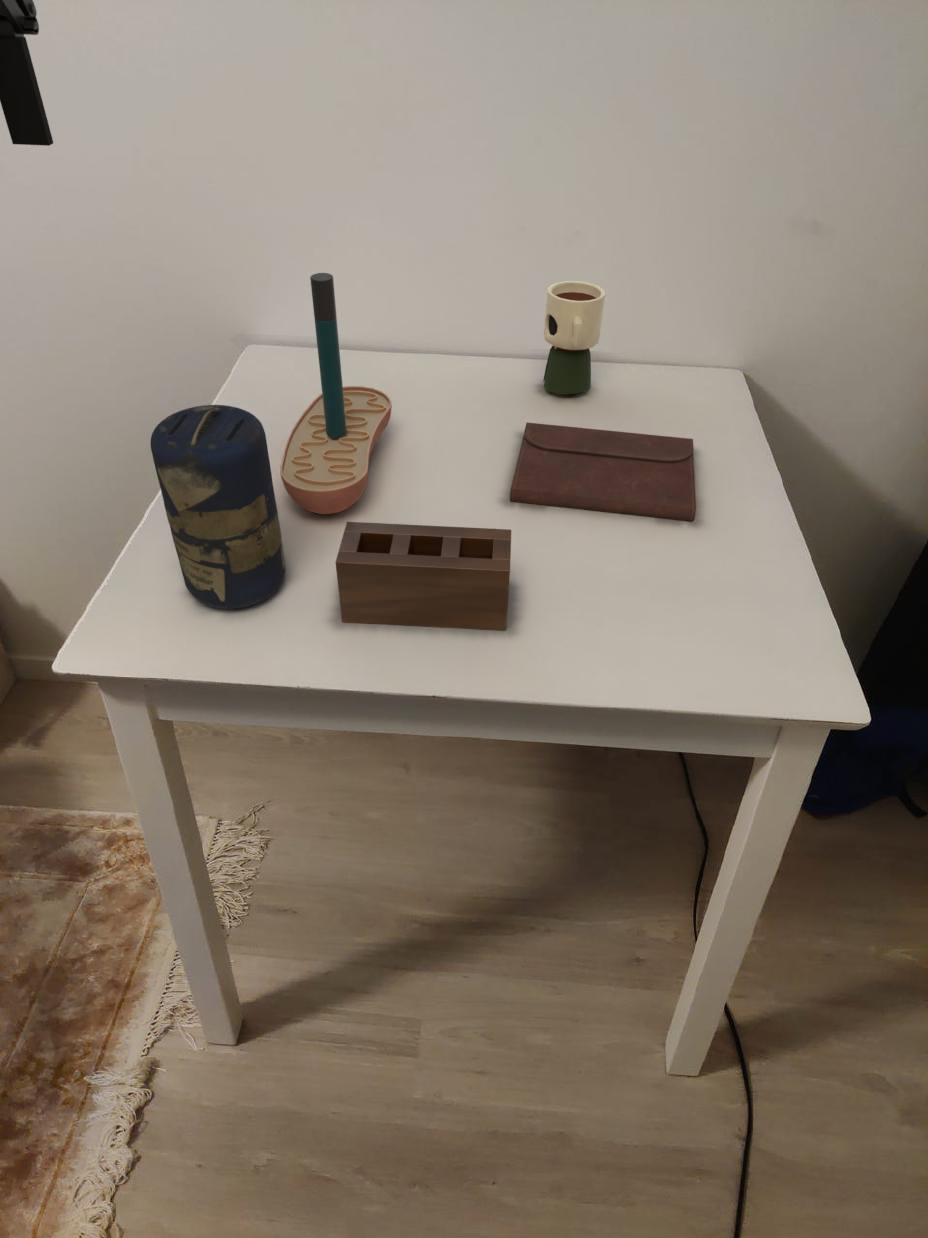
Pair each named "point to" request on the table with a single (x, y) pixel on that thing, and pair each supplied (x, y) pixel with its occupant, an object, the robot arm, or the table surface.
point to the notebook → (606, 471)
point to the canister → (220, 504)
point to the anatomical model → (334, 452)
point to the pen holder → (424, 575)
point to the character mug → (571, 334)
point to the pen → (328, 353)
